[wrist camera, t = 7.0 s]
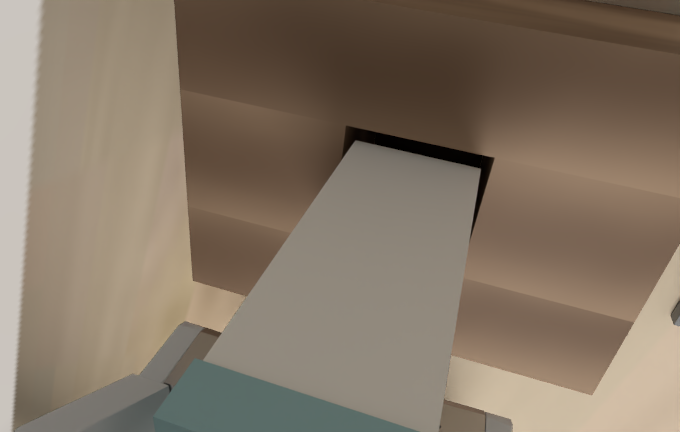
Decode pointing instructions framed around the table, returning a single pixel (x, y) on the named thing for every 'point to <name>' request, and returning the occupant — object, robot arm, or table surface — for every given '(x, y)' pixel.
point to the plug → (345, 310)
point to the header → (457, 133)
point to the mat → (676, 315)
